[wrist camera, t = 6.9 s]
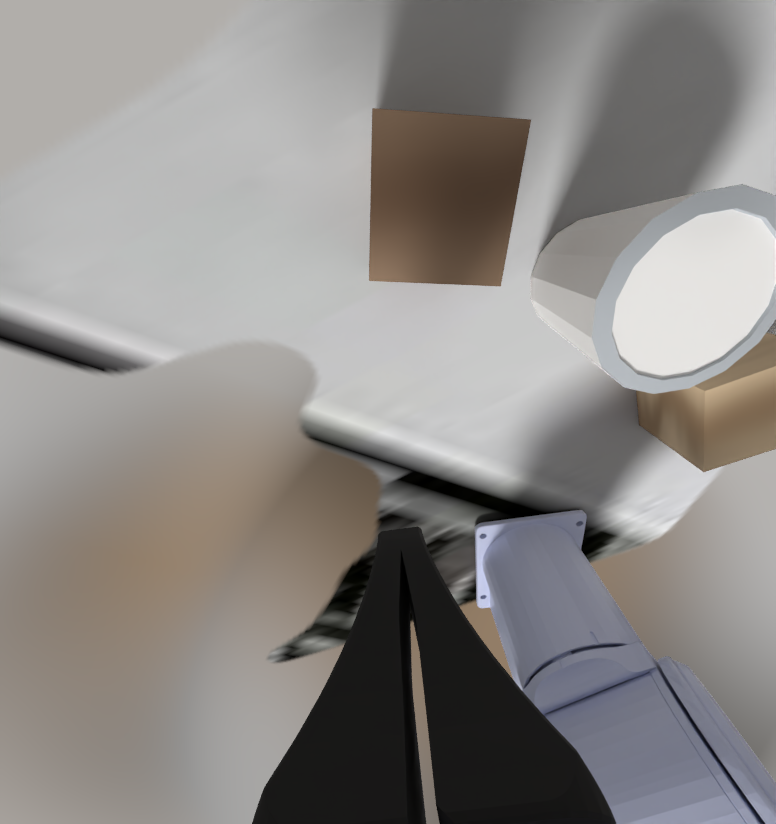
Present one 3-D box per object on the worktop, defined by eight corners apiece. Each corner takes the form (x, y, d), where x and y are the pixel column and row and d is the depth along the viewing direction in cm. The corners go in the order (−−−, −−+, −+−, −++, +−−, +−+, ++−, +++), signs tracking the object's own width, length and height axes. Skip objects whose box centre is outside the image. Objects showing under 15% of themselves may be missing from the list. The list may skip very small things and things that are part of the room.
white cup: (573, 171, 16) (703, 135, 10) (681, 241, 18) (852, 248, 11) (492, 312, 19) (553, 353, 13) (592, 361, 20) (690, 419, 14)
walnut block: (468, 272, 18) (500, 286, 13) (369, 267, 18) (369, 280, 13) (485, 151, 16) (531, 119, 11) (371, 143, 15) (372, 108, 11)
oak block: (720, 395, 22) (809, 438, 17) (638, 424, 23) (703, 472, 18) (722, 321, 20) (825, 348, 15) (632, 355, 20) (704, 391, 16)
